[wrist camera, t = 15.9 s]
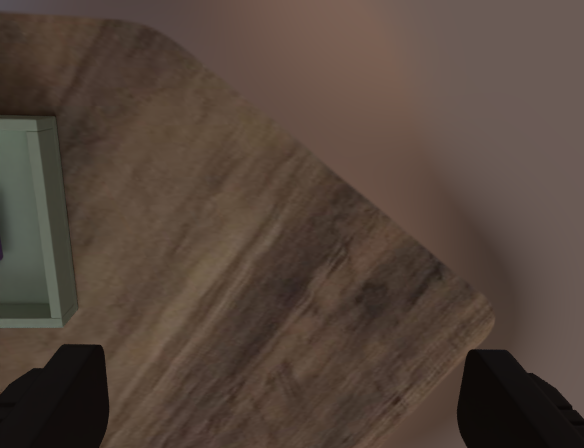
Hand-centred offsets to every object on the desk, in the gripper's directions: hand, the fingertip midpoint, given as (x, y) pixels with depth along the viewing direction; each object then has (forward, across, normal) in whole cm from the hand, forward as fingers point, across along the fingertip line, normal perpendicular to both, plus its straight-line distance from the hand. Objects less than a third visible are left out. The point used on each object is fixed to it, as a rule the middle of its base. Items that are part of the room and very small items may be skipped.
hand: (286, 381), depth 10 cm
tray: (+27, +22, +5) cm, 35 cm away
